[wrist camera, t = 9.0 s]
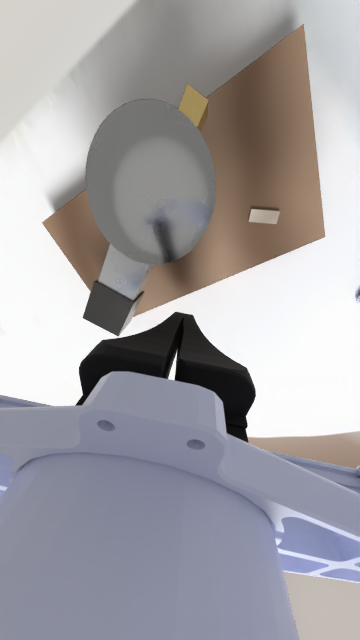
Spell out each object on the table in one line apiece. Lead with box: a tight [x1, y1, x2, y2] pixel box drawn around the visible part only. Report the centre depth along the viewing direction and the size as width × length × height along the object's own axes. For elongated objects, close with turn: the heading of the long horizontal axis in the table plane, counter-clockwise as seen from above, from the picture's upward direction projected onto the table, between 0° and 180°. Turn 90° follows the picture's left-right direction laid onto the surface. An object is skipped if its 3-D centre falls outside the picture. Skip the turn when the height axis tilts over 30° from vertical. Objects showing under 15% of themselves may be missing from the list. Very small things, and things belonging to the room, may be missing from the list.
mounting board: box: [42, 24, 325, 317], centre depth 12 cm, size 10×18×2 cm, turn 115°
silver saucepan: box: [83, 84, 216, 336], centre depth 10 cm, size 13×6×3 cm, turn 150°
